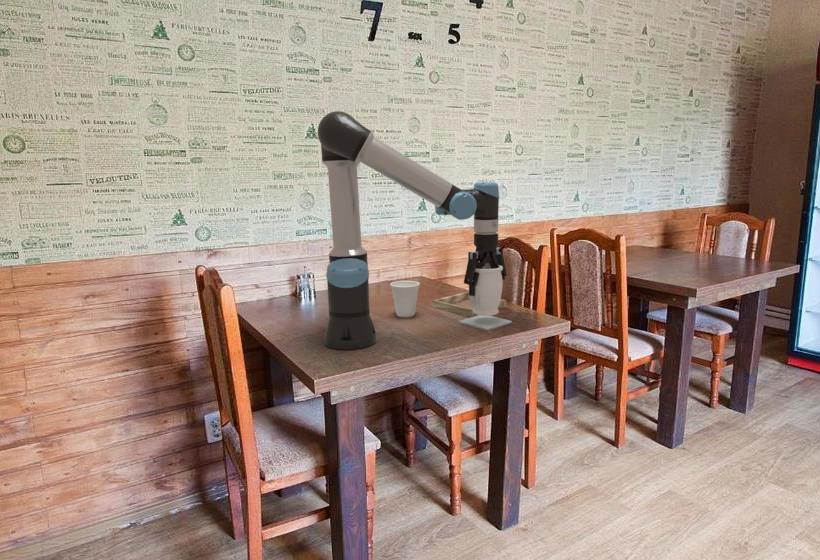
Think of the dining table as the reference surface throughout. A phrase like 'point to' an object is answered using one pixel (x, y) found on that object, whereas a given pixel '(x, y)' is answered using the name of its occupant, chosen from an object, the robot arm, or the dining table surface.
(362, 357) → the dining table surface
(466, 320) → the mat
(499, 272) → the jar
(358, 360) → the dining table surface
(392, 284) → the cup
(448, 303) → the square wooden frame
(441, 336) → the dining table surface
